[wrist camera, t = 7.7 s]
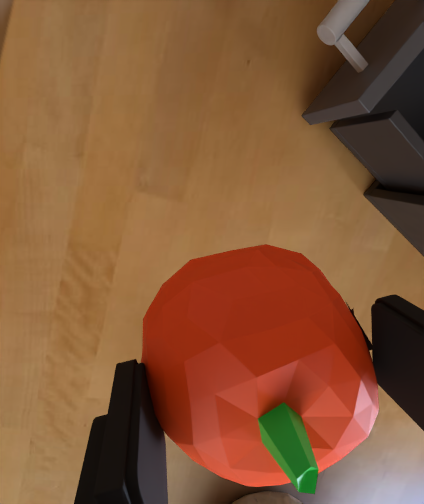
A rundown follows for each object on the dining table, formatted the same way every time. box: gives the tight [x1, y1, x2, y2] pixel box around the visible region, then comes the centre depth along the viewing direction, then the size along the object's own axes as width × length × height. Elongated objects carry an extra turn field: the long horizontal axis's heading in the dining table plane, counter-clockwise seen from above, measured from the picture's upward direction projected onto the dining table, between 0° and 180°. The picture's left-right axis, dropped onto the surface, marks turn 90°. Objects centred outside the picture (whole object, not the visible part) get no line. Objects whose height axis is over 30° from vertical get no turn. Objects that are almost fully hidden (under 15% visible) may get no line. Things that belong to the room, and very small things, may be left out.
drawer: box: [302, 0, 424, 196], centre depth 25 cm, size 19×13×8 cm, turn 50°
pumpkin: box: [141, 245, 379, 494], centre depth 10 cm, size 7×8×6 cm
